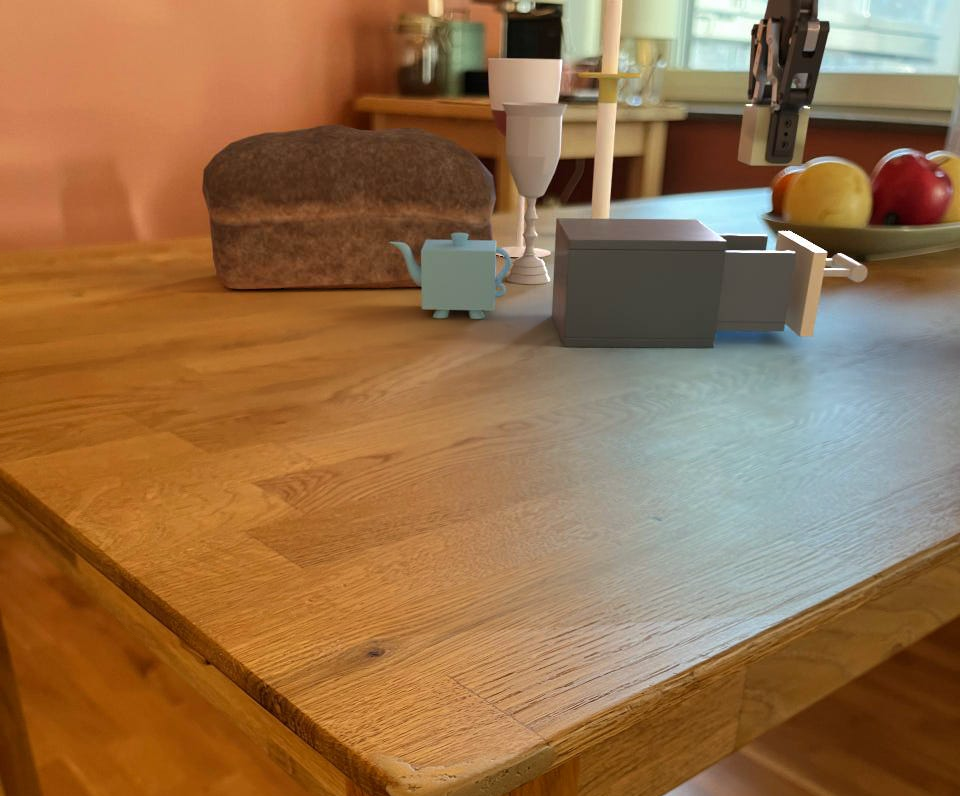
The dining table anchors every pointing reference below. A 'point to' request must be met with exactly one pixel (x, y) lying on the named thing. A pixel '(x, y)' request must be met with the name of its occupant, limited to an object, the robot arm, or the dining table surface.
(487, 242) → the teapot
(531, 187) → the chalice
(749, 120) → the block
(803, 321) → the drawer
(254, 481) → the dining table surface
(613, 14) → the candle
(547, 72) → the wineglass
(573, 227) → the cabinet
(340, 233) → the bread
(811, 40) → the robot arm
